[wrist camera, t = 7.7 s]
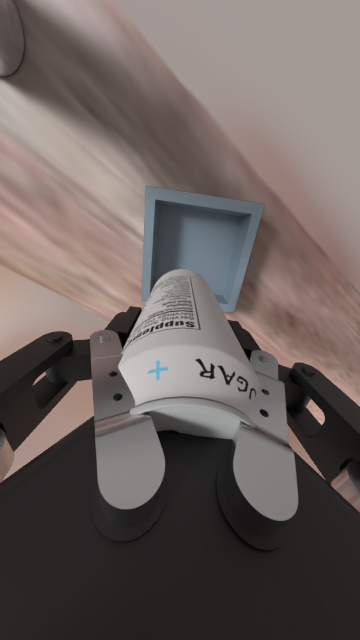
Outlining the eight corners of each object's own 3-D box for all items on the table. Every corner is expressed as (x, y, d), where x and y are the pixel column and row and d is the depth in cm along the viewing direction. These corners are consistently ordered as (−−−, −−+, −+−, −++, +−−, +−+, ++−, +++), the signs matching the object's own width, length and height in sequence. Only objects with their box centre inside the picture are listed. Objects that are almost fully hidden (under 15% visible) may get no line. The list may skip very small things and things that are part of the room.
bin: (147, 291, 40) (141, 300, 34) (152, 194, 32) (145, 185, 26) (226, 301, 41) (234, 312, 35) (250, 209, 33) (264, 203, 27)
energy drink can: (174, 331, 21) (162, 519, 7) (141, 289, 18) (32, 444, 5) (221, 303, 19) (317, 475, 6) (190, 254, 17) (225, 341, 3)
